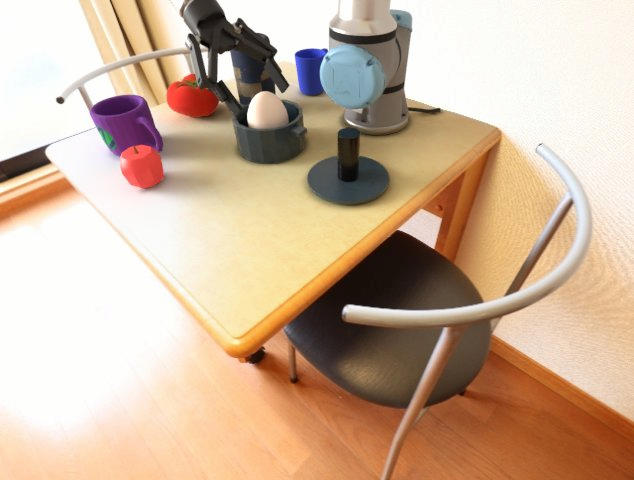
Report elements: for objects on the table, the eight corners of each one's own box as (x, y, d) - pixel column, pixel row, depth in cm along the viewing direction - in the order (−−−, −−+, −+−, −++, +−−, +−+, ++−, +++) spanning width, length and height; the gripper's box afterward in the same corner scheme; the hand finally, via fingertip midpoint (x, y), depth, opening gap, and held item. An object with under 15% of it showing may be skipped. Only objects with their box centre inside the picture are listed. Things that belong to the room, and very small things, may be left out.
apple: (121, 182, 74) (103, 146, 68) (158, 166, 78) (144, 131, 72) (139, 198, 70) (121, 162, 64) (176, 180, 73) (163, 145, 68)
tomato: (186, 131, 88) (175, 95, 82) (165, 114, 95) (154, 79, 89) (236, 113, 94) (229, 78, 88) (213, 98, 101) (205, 65, 95)
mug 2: (339, 84, 105) (339, 46, 98) (316, 100, 98) (315, 60, 91) (314, 79, 108) (313, 42, 102) (291, 94, 101) (288, 55, 94)
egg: (276, 130, 86) (270, 80, 78) (298, 144, 81) (294, 92, 73) (244, 143, 82) (234, 92, 74) (265, 158, 77) (257, 105, 69)
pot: (264, 121, 90) (260, 90, 85) (327, 146, 81) (326, 113, 76) (217, 145, 83) (209, 113, 78) (281, 176, 73) (276, 142, 68)
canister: (256, 98, 100) (244, 24, 88) (284, 104, 97) (277, 28, 84) (233, 112, 95) (217, 35, 82) (263, 119, 91) (251, 40, 78)
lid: (340, 151, 79) (341, 105, 72) (404, 176, 71) (411, 128, 64) (291, 185, 71) (285, 137, 63) (356, 218, 63) (359, 167, 56)
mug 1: (99, 151, 83) (77, 109, 76) (141, 130, 89) (125, 89, 82) (146, 174, 75) (127, 129, 68) (189, 150, 82) (175, 106, 75)
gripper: (238, 7, 81) (294, 90, 85) (138, 37, 68) (211, 133, 71) (250, -20, 75) (311, 70, 79) (144, 7, 62) (223, 114, 65)
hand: (263, 101), depth 75 cm, fingers open, 13 cm apart
